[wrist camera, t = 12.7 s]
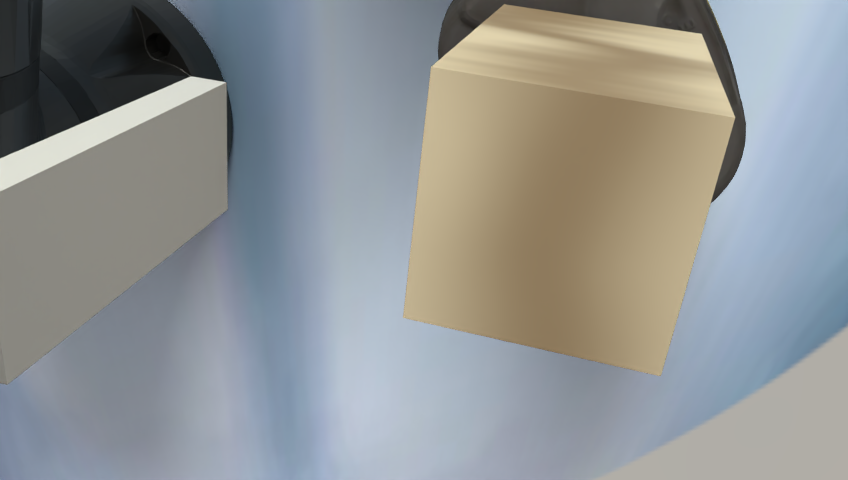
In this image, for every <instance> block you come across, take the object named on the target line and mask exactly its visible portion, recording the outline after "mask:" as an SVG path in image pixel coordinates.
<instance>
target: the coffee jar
mask: <svg viewBox="0 0 848 480" xmlns="http://www.w3.org/2000/svg"><path fill="white" fill-rule="evenodd" d="M504 4H506V5H512V6H519V7H526V8H532V9H539V10H546V11H552V12H559V13H566V14H572V15H579V16H586V17H592V18H599V19H606V20H612V21H619V22H626V23H632V24H639V25H646V26H652V27H659V28H666V29H672V30H679V31H686V32H692V33H699V34H702V36H703V38H704V41H705V43H706V46H707V48H708V51H709V53H710V56H711V58H712V61H713V63H714V66H715V68H716V71H717V73H718V76H719V78H720V81H721V83H722V86H723V88H724V91H725V93H726V96H727V98H728V101H729V103H730V106H731V108H732V111H733V113H734V116H735V120H734V124H733V127H732V131H731V134H730V138H729V141H728V145H727V148H726V152H725V155H724V158H723V162H722V165H721V169H720V172H719V176H718V179H717V183H716V186H715V190H714V193H713V197H712V200H711V203H712V202H713V201H714V200H715V199H716V198H717V197H718V196H719V195H720V194H721V193H722V192H723V190H724V189H725V188H726V187H727V186H728V184H729V183H730V181H731V180H732V179H733V177H734V175H735V173H736V171H737V169H738V167H739V164H740V161H741V158H742V155H743V150H744V146H745V136H746V122H745V116H744V110H743V106H742V101H741V99H740V94H739V90H738V85H737V81H736V76H735V72H734V68H733V65H732V62H731V58H730V55H729V52H728V49H727V46H726V43H725V41H724V38H723V35H722V33H721V30H720V28H719V25H718V23H717V20H716V18H715V16H714V13H713V11H712V9H711V7H710V4H709V2H708V0H453V1H452V3H451V4H450V6H449V8H448V10H447V12H446V15H445V17H444V20H443V23H442V28H441V32H440V38H439V45H438V58H439V60H440V59H441V58H442V57H443V56H444V55H445V54H447V53H448V52H449V51H450V50H451V49H453V48H454V47H455V46H456V45H457V44H458V43H460V42H461V41H462V40H463V39H464V38H465V37H467V36H468V35H469V34H470V33H471V32H472V31H474V30H475V29H476V28H477V27H478V26H479V25H481V24H482V23H483V22H484V21H485V20H486V19H488V18H489V17H490V16H491V15H492V14H493V13H495V12H496V11H497V10H498V9H499V8H500V7H502V6H503V5H504Z"/></svg>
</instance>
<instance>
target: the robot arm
mask: <svg viewBox="0 0 848 480" xmlns="http://www.w3.org/2000/svg"><path fill="white" fill-rule="evenodd" d="M231 141H232V116H231V108H230V102H229V97H228V93H227V85H226V82H224V80H223V77H222V75H221V72H220V69H219V67H218V65H217V63H216V61H215V59H214V57H213V55H212V53H211V51H210V49H209V48H208V46H207V45H206V43H205V41H204V40H203V39H202V37H201V36H200V34H199V33H198V31H197V30H196V29H195V28H194V27H193V25H192V24H191V23H190V22H189V21H188V20H187V19H186V17H185V16H184V15H183V14H182V13H181V12H180V11H179V10H178V9H177V8H175V7H174V6H173V5H172V4H171V3H170V2H168V1H167V0H0V383H2V384H6V385H8V384H9V383H10V382H12V381H13V380H14V379H15V378H17V377H18V376H19V375H20V374H22V373H23V372H24V371H25V370H27V369H28V368H29V367H30V366H32V365H33V364H34V363H35V362H37V361H38V360H39V359H40V358H42V357H43V356H44V355H46V354H47V353H48V352H49V351H51V350H52V349H53V348H54V347H56V346H57V345H58V344H59V343H61V342H62V341H63V340H64V339H66V338H67V337H68V336H69V335H71V334H72V333H73V332H74V331H76V330H77V329H78V328H79V327H81V326H82V325H83V324H84V323H86V322H87V321H88V320H89V319H91V318H92V317H93V316H95V315H96V314H97V313H98V312H100V311H101V310H102V309H103V308H105V307H106V306H107V305H108V304H110V303H111V302H112V301H113V300H115V299H116V298H117V297H118V296H120V295H121V294H122V293H123V292H125V291H126V290H127V289H128V288H130V287H131V286H132V285H133V284H135V283H136V282H137V281H138V280H140V279H141V278H142V277H144V276H145V275H146V274H147V273H149V272H150V271H151V270H152V269H154V268H155V267H156V266H157V265H159V264H160V263H161V262H162V261H164V260H165V259H166V258H167V257H169V256H170V255H171V254H172V253H174V252H175V251H176V250H177V249H179V248H180V247H181V246H182V245H184V244H185V243H186V242H187V241H189V240H190V239H191V238H193V237H194V236H195V235H196V234H198V233H199V232H200V231H201V230H203V229H204V228H205V227H206V226H208V225H209V224H210V223H211V222H213V221H214V220H215V219H216V218H218V217H219V216H220V215H221V214H223V213H224V212H225V211H226V210H228V201H227V162H228V159H229V154H230V149H231Z"/></svg>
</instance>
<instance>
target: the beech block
mask: <svg viewBox="0 0 848 480" xmlns="http://www.w3.org/2000/svg"><path fill="white" fill-rule="evenodd" d="M734 120H735V116H734V113H733V111H732V108H731V106H730V103H729V101H728V98H727V96H726V93H725V91H724V88H723V86H722V83H721V81H720V78H719V76H718V73H717V71H716V68H715V66H714V63H713V61H712V58H711V56H710V53H709V51H708V48H707V46H706V43H705V41H704V38H703V36H702V34H699V33H692V32H686V31H679V30H672V29H666V28H659V27H652V26H646V25H639V24H632V23H626V22H619V21H612V20H606V19H599V18H592V17H586V16H579V15H572V14H566V13H559V12H552V11H546V10H539V9H532V8H526V7H519V6H512V5H506V4H504V5H503V6H502V7H500V8H499V9H498V10H497V11H496V12H495V13H493V14H492V15H491V16H490V17H489V18H488V19H486V20H485V21H484V22H483V23H482V24H481V25H479V26H478V27H477V28H476V29H475V30H474V31H472V32H471V33H470V34H469V35H468V36H467V37H465V38H464V39H463V40H462V41H461V42H460V43H458V44H457V45H456V46H455V47H454V48H453V49H451V50H450V51H449V52H448V53H447V54H445V55H444V56H443V57H442V58H441V59H440V60H438V61H437V62H436V63H435V64H434V65H433V66H431V72H430V81H429V90H428V99H427V108H426V117H425V126H424V135H423V144H422V153H421V162H420V171H419V180H418V189H417V198H416V207H415V216H414V225H413V234H412V242H411V251H410V260H409V269H408V278H407V287H406V296H405V305H404V314H403V318H406V319H411V320H415V321H420V322H424V323H428V324H433V325H437V326H442V327H446V328H450V329H455V330H459V331H464V332H468V333H472V334H477V335H481V336H486V337H490V338H494V339H499V340H503V341H508V342H512V343H516V344H521V345H525V346H530V347H534V348H538V349H543V350H547V351H552V352H556V353H560V354H565V355H569V356H574V357H578V358H583V359H587V360H591V361H596V362H600V363H605V364H609V365H613V366H618V367H622V368H627V369H631V370H635V371H640V372H644V373H649V374H653V375H657V376H661V374H662V370H663V367H664V363H665V360H666V356H667V353H668V349H669V346H670V342H671V339H672V335H673V332H674V328H675V325H676V321H677V318H678V315H679V311H680V308H681V304H682V301H683V297H684V294H685V290H686V287H687V283H688V280H689V276H690V273H691V269H692V266H693V263H694V259H695V256H696V252H697V249H698V245H699V242H700V238H701V235H702V231H703V228H704V224H705V221H706V217H707V214H708V211H709V207H710V204H711V200H712V197H713V193H714V190H715V186H716V183H717V179H718V176H719V172H720V169H721V165H722V162H723V158H724V155H725V152H726V148H727V145H728V141H729V138H730V134H731V131H732V127H733V124H734Z"/></svg>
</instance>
